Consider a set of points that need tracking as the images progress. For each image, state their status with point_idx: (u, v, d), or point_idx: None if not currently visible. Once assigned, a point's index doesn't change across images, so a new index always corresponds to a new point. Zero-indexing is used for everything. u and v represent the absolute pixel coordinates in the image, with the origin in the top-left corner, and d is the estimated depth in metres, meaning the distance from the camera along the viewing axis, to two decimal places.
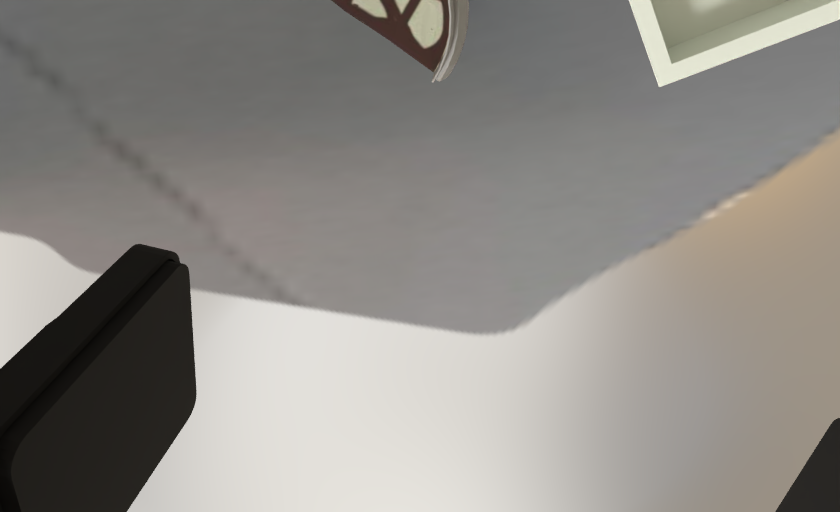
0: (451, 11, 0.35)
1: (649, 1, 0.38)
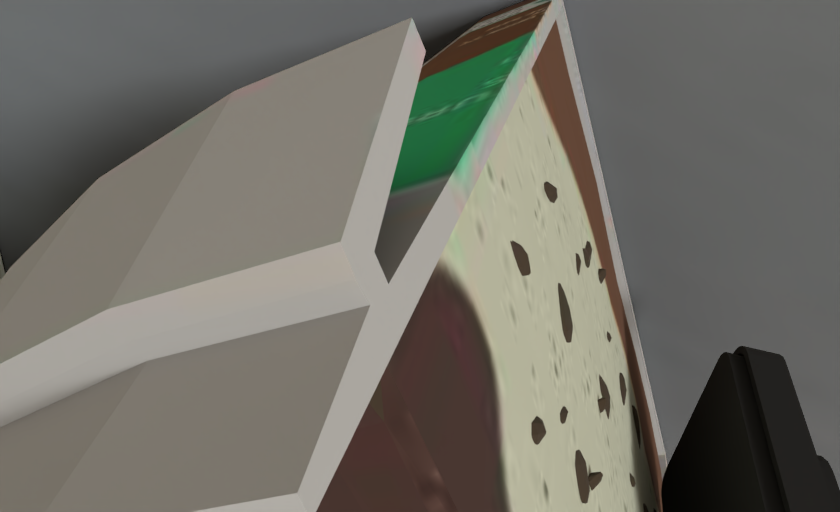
0: None
1: None
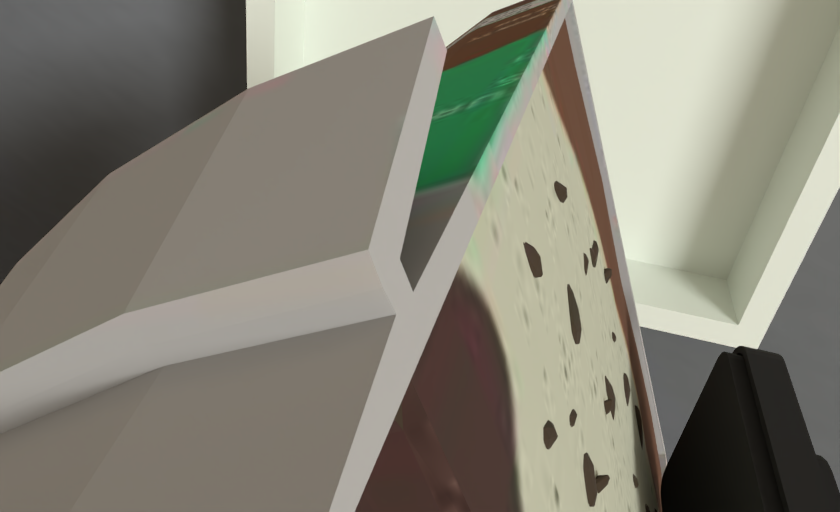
0: None
1: None
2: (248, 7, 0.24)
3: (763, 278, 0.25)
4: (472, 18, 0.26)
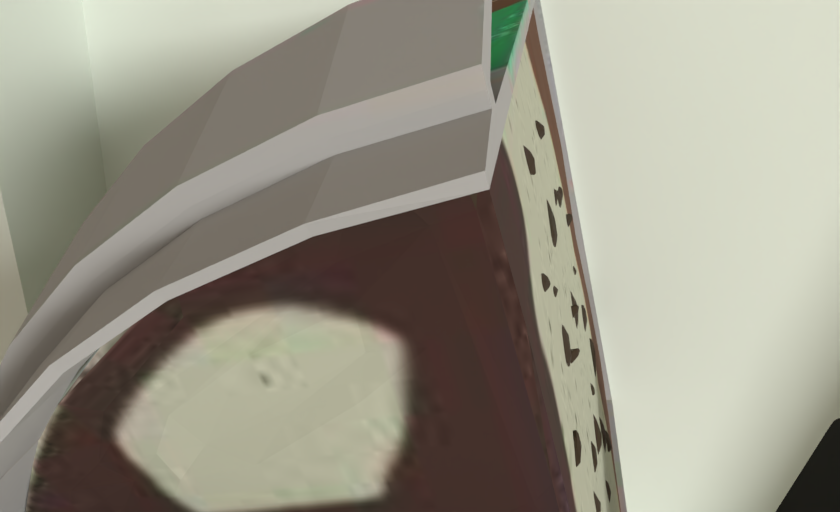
0: None
1: None
2: None
3: None
4: None
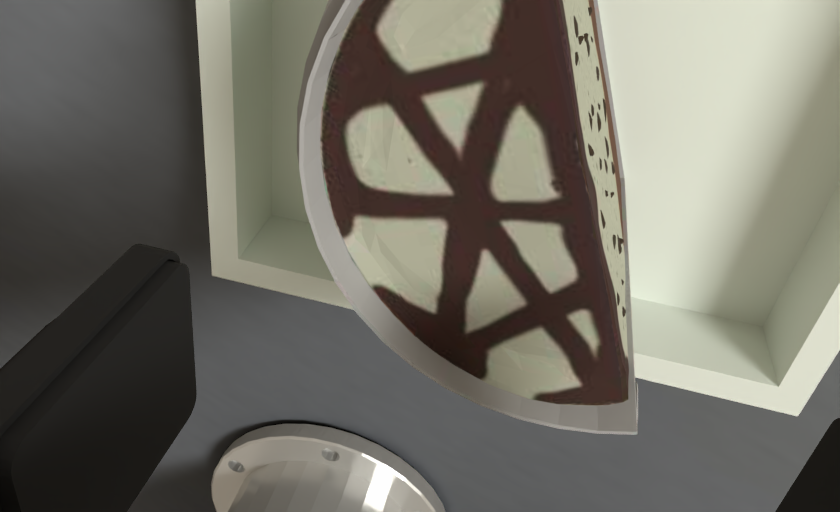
0: (344, 3, 0.12)
1: None
2: (199, 13, 0.20)
3: (811, 336, 0.21)
4: None
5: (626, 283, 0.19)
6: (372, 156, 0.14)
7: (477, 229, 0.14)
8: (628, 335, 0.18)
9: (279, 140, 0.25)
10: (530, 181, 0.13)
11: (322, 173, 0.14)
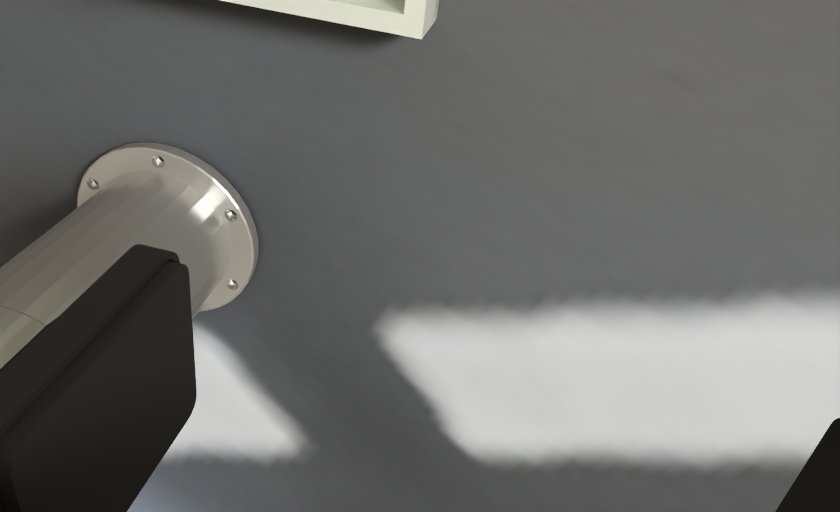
0: None
1: None
2: None
3: None
4: None
5: None
6: None
7: None
8: None
9: None
10: None
11: None
